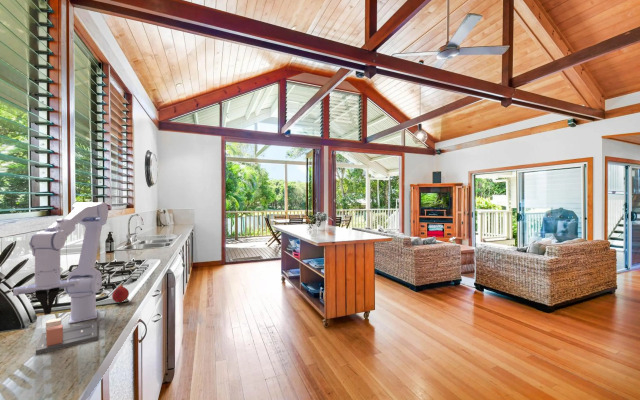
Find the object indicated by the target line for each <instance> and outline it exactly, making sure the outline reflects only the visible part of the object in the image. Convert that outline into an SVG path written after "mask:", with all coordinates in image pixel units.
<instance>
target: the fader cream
mask: <svg viewBox="0 0 640 400" xmlns="http://www.w3.org/2000/svg"><path fill="white" fill-rule="evenodd" d="M58 325H62V317H58V318H52V319H48V320H46V322H45V333H46V338H47V329H48V328H49V327H53V326H58Z"/></svg>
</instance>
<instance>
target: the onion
mask: <svg viewBox="0 0 640 400" xmlns="http://www.w3.org/2000/svg"><path fill="white" fill-rule="evenodd" d="M129 295H130V292H129V290H128V289H127V288H126V287H124V284H120V285H119V286H118V287H117V288H116V289H114V291H113V293H112V296H111V298H112V300H113V302H115V303H117V302H122V301H124V300H125V299H126V300H127V299H128V298H129ZM126 300H125V301H126ZM125 301H124V302H125Z"/></svg>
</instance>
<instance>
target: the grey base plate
mask: <svg viewBox="0 0 640 400" xmlns="http://www.w3.org/2000/svg"><path fill="white" fill-rule="evenodd" d="M97 340H98V321H95V322H90V323H86V324H80V325H75V326H71V327H67V328H63V341H62V343H58V344H54V345H50V346H47V338H46V332H43V333H41V336H40V339H39V340H38V344H37V346H36V349H35V355H39V354H43V353H48V352H52V351H56V350H62V349H64V348H68V347H73V346H77V345H80V344H86V343H90V342H93V341H97Z"/></svg>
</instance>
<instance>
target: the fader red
mask: <svg viewBox="0 0 640 400" xmlns="http://www.w3.org/2000/svg"><path fill="white" fill-rule="evenodd" d="M63 329H64V324H61V325H58V326H53V327H49V328H48V329H47V346H50V345H54V344H58V343H62V341H63Z"/></svg>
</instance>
